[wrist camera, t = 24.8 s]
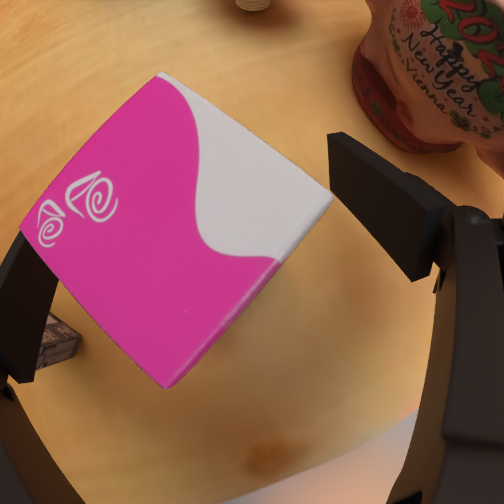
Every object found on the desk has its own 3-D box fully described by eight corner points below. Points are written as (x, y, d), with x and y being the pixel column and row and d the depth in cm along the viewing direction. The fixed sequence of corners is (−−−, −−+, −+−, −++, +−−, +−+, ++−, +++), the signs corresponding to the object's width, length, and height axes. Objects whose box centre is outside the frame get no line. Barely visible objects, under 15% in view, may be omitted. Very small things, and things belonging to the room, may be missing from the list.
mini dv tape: (83, 336, 17) (27, 349, 11) (74, 356, 17) (18, 376, 11) (-1, 269, 17) (-60, 259, 11) (-8, 288, 17) (-67, 282, 11)
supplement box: (202, 191, 18) (165, 59, 7) (281, 259, 18) (353, 201, 7) (135, 266, 18) (9, 225, 6) (212, 337, 17) (176, 407, 6)
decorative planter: (522, 193, 20) (640, 141, 6) (450, 276, 19) (631, 246, 5) (385, 15, 22) (442, -93, 8) (280, 46, 20) (313, -117, 6)
